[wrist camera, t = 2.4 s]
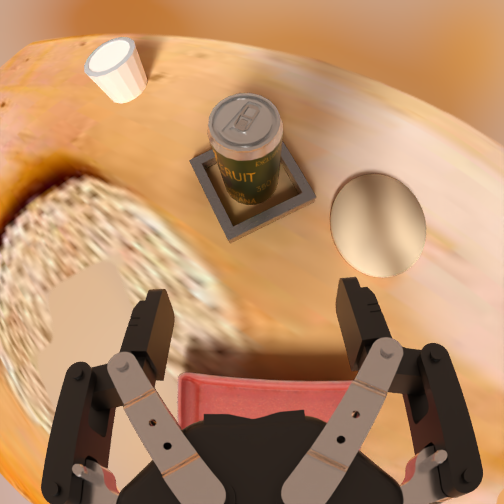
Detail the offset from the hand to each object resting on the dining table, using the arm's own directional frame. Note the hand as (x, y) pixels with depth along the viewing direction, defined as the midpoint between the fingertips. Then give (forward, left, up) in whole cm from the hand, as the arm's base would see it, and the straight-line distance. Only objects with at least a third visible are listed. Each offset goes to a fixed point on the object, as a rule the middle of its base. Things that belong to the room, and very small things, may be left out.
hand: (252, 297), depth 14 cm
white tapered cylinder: (+3, -32, -16) cm, 36 cm away
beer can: (-5, -11, -16) cm, 20 cm away
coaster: (-15, -1, -16) cm, 22 cm away
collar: (-5, -11, -16) cm, 20 cm away
